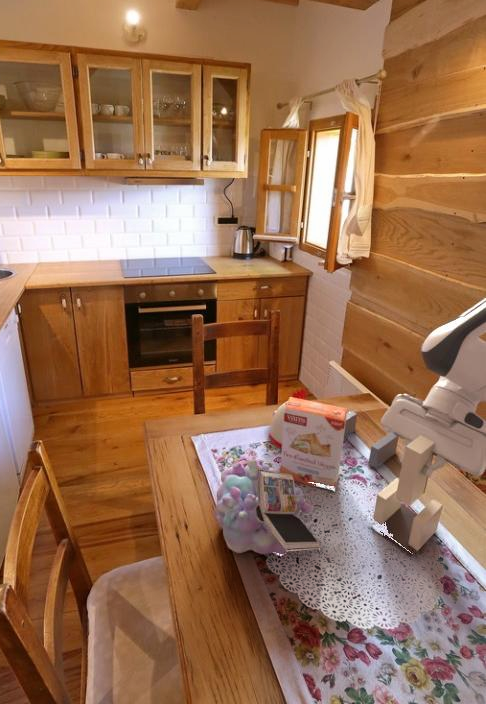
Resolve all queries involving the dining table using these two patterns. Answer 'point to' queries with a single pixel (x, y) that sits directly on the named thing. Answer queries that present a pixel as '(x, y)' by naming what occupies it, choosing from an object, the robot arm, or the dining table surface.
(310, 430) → the cracker box
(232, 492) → the pastel bumpy hinged case
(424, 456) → the tall beige block
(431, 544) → the dining table surface
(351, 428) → the grey book
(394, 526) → the dark flat slab
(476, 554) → the dining table surface
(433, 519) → the cream book
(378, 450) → the grey book
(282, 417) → the kitchen timer
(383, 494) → the cream book
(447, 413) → the robot arm
